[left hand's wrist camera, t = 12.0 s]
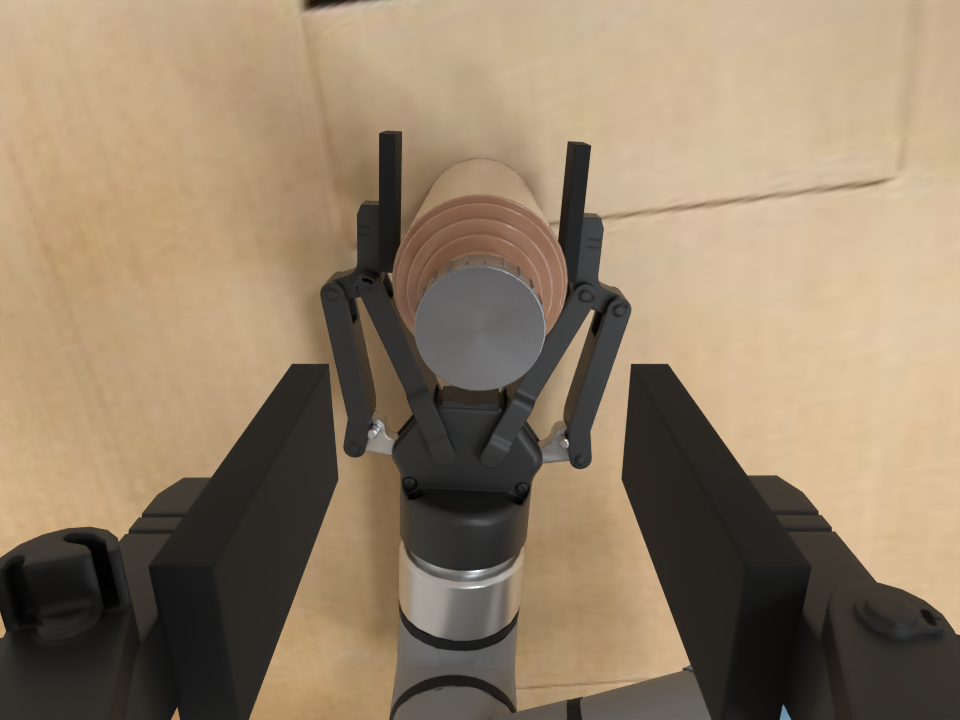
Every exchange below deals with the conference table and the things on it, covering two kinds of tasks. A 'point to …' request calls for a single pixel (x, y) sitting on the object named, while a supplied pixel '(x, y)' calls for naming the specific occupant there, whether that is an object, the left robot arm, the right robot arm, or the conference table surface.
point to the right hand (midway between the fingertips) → (485, 138)
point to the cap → (479, 322)
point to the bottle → (480, 234)
